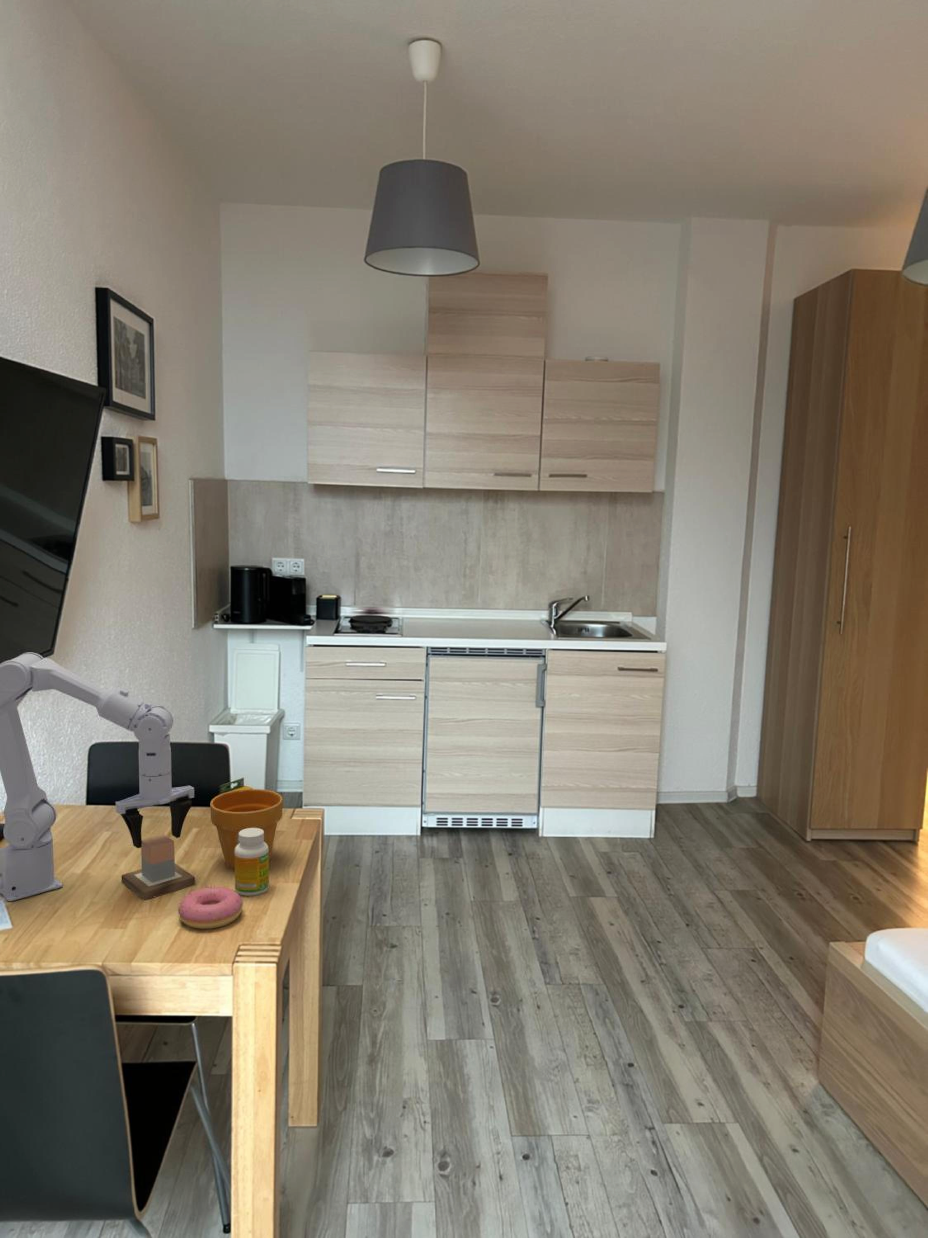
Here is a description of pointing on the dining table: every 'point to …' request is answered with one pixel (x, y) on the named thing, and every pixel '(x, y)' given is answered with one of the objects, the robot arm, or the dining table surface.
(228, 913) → the doughnut
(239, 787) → the crayon box
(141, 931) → the dining table surface
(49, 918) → the dining table surface
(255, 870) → the supplement bottle
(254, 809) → the flower pot
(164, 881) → the walnut board
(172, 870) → the block stack
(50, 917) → the dining table surface
